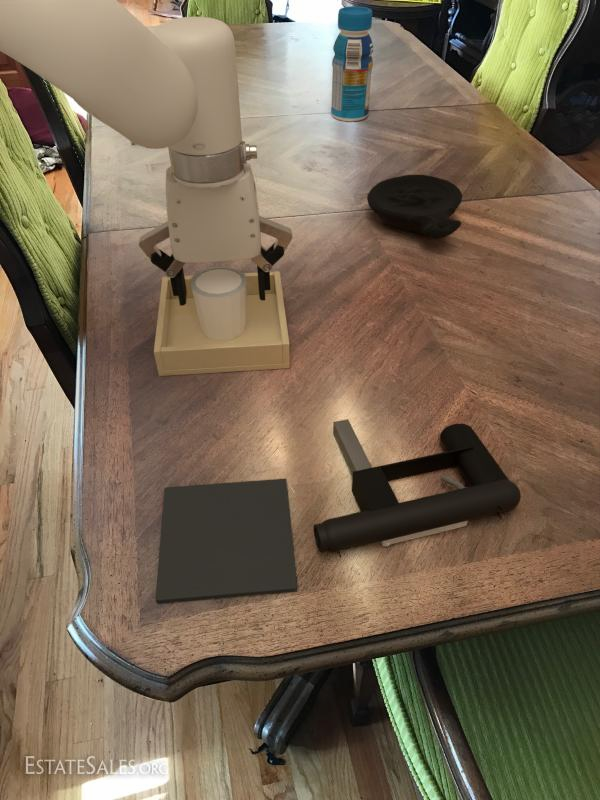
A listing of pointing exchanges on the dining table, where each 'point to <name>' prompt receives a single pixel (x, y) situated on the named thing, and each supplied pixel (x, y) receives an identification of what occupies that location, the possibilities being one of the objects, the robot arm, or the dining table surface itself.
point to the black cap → (417, 204)
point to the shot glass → (220, 301)
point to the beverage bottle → (352, 64)
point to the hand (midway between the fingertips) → (222, 296)
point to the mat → (225, 541)
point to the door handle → (421, 515)
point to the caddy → (196, 354)
